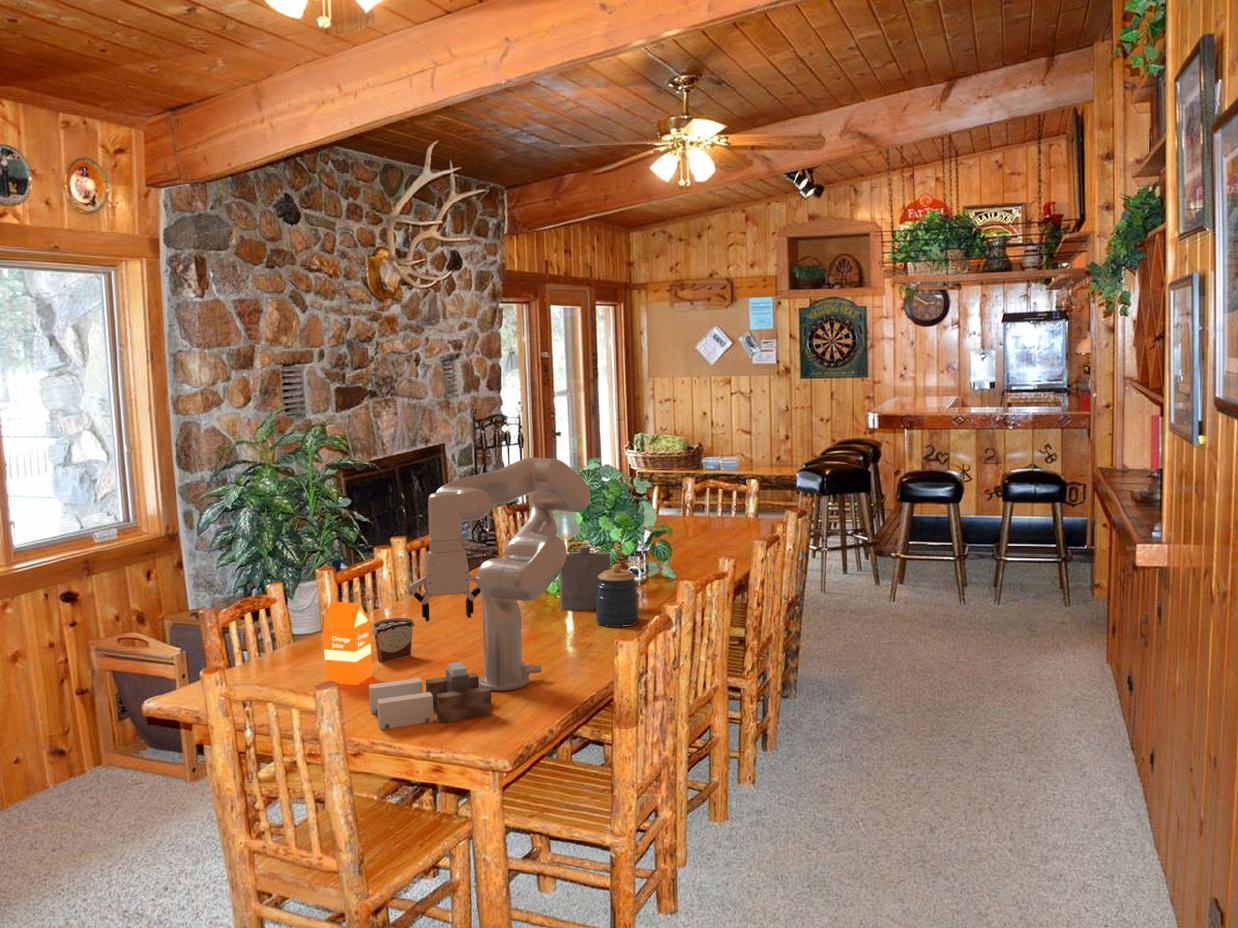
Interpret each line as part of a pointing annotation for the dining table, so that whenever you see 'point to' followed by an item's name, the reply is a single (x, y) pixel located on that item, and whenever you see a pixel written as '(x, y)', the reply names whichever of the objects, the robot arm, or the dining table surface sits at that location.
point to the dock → (401, 703)
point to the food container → (393, 638)
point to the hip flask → (581, 578)
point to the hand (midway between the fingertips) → (447, 618)
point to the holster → (459, 700)
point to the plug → (457, 677)
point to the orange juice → (347, 644)
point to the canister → (617, 597)
